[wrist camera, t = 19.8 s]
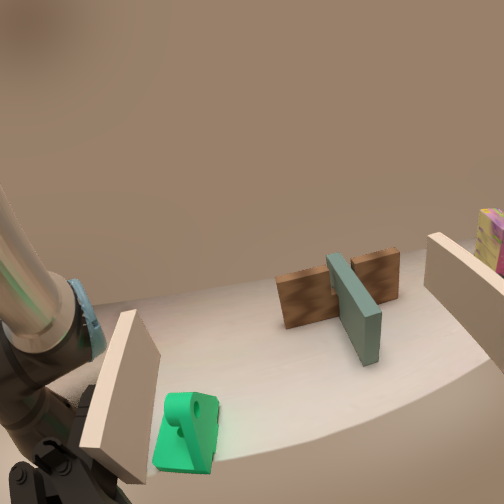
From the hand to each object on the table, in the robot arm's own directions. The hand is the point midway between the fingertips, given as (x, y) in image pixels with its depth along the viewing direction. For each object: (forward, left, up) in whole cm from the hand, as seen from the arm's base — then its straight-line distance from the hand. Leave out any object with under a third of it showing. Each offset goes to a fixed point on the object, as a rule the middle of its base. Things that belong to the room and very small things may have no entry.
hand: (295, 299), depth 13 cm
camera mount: (-16, +12, -30) cm, 36 cm away
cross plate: (+12, +27, -29) cm, 41 cm away
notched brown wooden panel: (+12, +32, -29) cm, 45 cm away
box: (+49, +30, -29) cm, 64 cm away
